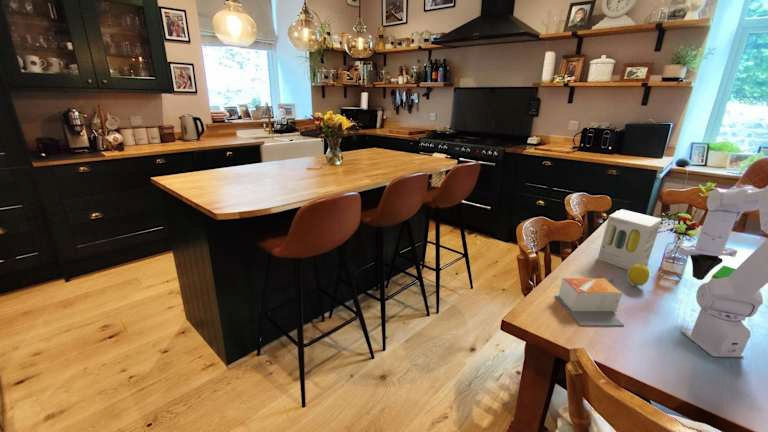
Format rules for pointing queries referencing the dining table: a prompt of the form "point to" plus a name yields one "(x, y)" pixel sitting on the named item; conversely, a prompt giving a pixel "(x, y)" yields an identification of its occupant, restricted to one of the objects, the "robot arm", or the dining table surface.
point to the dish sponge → (723, 272)
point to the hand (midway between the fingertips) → (697, 278)
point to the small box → (589, 294)
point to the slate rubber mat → (592, 317)
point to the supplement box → (628, 238)
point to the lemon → (638, 274)
